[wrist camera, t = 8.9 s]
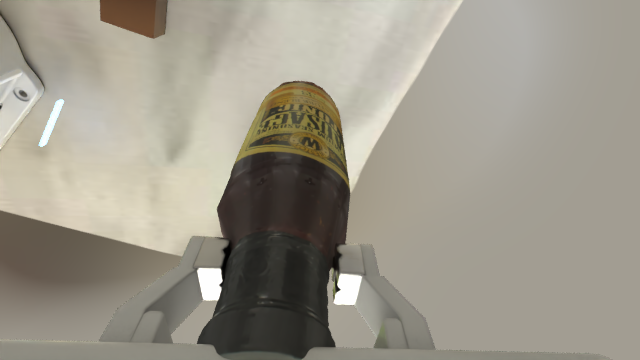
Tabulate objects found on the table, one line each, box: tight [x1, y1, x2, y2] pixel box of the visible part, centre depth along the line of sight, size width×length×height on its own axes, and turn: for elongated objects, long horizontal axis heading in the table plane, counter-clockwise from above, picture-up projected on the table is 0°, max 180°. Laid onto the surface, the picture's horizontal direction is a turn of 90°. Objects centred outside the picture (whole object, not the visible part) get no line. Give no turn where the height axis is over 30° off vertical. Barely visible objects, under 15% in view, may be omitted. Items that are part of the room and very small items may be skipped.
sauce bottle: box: [197, 81, 350, 360], centre depth 17 cm, size 7×6×20 cm
